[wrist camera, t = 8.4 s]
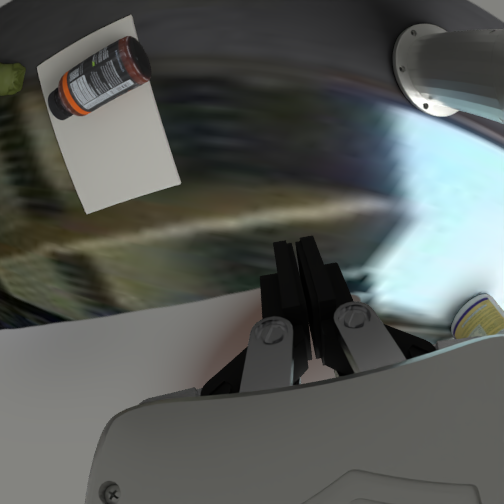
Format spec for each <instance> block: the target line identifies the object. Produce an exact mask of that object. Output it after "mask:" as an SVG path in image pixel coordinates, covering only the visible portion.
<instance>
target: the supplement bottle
mask: <svg viewBox="0 0 504 504" xmlns="http://www.w3.org/2000/svg"><path fill="white" fill-rule="evenodd" d="M150 77H151V66H150V63H149V60H148V57H147V55H146V53H145V51H144V49H143V47H142V46H141V44H140V43H139V42H138V40H137V39H136V38H134V37H132V36H126V37H124V38H122V39H119V40H117V41H116V42H114V43H112V44H110V45H108V46H107V47H105V48H103V49H101V50H100V51H98V52H97V53H95V54H93V55H92V56H90V57H88V58H87V59H85V60H84V61H82V62H81V63H79V64H78V65H76V66H75V67H73V68H72V69H70V70H69V71H67V72H66V73H65V74H64V75H63V76H62V77H61V79H60V81H59V85H58V87H57V88H56V89H55V90H54V91H52V92H51V93H50V94H49V96H48V106H49V109H50V111H51V113H52V114H53V116H54V117H56V118H57V119H59V120H65V119H67V118H69V117H71V116H72V115H75V116H85V115H87V114H89V113H91V112H92V111H94V110H96V109H98V108H99V107H101V106H103V105H104V104H106V103H108V102H110V101H112V100H114V99H115V98H117V97H119V96H121V95H123V94H125V93H127V92H129V91H130V90H132V89H135V88H137V87H138V86H141V85H142V84H144V83H146V82H148V81H149V80H150Z"/></svg>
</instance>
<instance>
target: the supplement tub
mask: <svg viewBox="0 0 504 504" xmlns="http://www.w3.org/2000/svg"><path fill="white" fill-rule="evenodd" d="M451 333H452V335H453V337H454V338H455V339H461V338H468V337H475V336H488V335H495V334H504V311H503V310H502V309H501V307H500V306H499V305H498V304H497V302H496V301H495V300H494V299H493V297H491V296H490V295H488V294H481V295H478V296H476V297H474V298H472V299H471V300H470V301H468V302H467V303H466V304H465V305H464V306H463V307H462V308H461V309H460V310H459V312H458V313H457V314H456V316H455V318H454V320H453V322H452V326H451Z"/></svg>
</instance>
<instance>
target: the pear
mask: <svg viewBox="0 0 504 504" xmlns="http://www.w3.org/2000/svg"><path fill="white" fill-rule="evenodd" d="M25 70H26V68H25V67H24V66H22V65H21V64H20V63H14V64H2V63H0V96H4V95H13V94H15V93H16V92H18V91H20V90H21V89H22V84H23V79H24V75H25Z"/></svg>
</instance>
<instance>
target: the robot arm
mask: <svg viewBox="0 0 504 504" xmlns="http://www.w3.org/2000/svg"><path fill="white" fill-rule="evenodd" d="M399 68H400V69H399ZM393 69H394V74H395V77H396V80H397V83H398V85H399V87H400V89H401V91H402V92H403V94H404V95H405V97H406V98H407V99H408V100H409V101H410V103H411V104H412V105H414V106H415V107H416V108H417V109H419V110H420V111H422V112H424V113H426V114H429V115H433V116H438V117H446V116H450V115H453V114H454V113H456V112H458V111H459V110H460V111H464V112H468V113H471V114H475V115H478V116H481V117H485V118H488V119H491V120H494V121H497V122H500V123H503V124H504V29H487V30H467V31H454V32H447V31H445V30H444V29H442V28H440V27H438V26H436V25H432V24H417V25H413V26H411V27H408V28H407V29H405V30H404V31H403V32H402V33H401V34H400V35H399V37H398V38H397V41H396V43H395V45H394V50H393ZM295 243H296V251H297V258H298V265H299V271H298V267H297V263H296V259H295V255H294V251H293V247H292V243H288V244H287V243H286V240H285V241H279V242H274V243H273V246H274V252H275V259H276V266H277V273H275V274H270V275H264V276H260V286H261V301H262V317H263V319H262V320H260V321H259V322H257V323H256V324H255V325H254V326H253V328H252V330H251V333H250V338H249V343H248V347H247V348H245V349H244V350H243V351H242V352H241V353H240V354H239V355H237V356H236V357H235V358H234V359H233V360H232V361H231V362H230V363H228V364H227V365H226V366H225V367H224V368H223V369H222V370H220V371H219V372H218V373H217V374H216V375H215V376H214V377H212V378H211V379H210V380H209V381H208V382H207V383H206V384H205V385H204V386H203V388H201V389H197V390H196V388H190V389H186V390H182V391H178V392H174V393H170V394H165V395H162V396H157V397H152V398H148V399H146V400H143V401H142V402H141V403H140V404H139V405H136V406H133V407H131V408H128V409H125V410H123V411H122V412H120V413H118V414H116V415H115V416H114V417H112V418H111V419H110V420H109V422H108V423H107V424H106V426H105V428H104V430H103V432H102V434H101V436H100V439H99V442H98V444H97V448H96V451H95V454H94V458H93V462H92V466H91V470H90V475H89V480H88V486H87V492H86V499H85V504H504V334H495V335H488V336H475V337H468V338H461V339H452V340H443V341H437V343H436V344H433V345H432V344H431V343H430V342H428V341H426V340H424V339H421V338H419V337H416V336H414V335H411V334H408V333H406V332H403V331H401V330H398V329H395V328H393V327H390V326H388V325H385V324H383V323H382V322H381V320H380V319H379V317H378V316H377V314H376V313H375V311H374V310H373V309H372V308H371V307H370V306H369V305H367V304H365V303H362V302H354V301H353V299H352V297H351V294H350V292H349V289H348V287H347V284H346V282H345V280H344V277H343V275H342V273H341V270H340V268H339V266H338V264H337V263H330V264H325V265H324V264H323V261H322V258H321V256H320V253H319V250H318V248H317V245H316V242H315V240H314V237H313V236H307V237H302V238H300V241H299V242H295ZM299 272H300V275H299ZM308 322H309V323H308ZM309 327H310V332H311V336H312V341H313V346H314V351H315V355H316V359H318V358H321V359H322V363H323V365H326V366H328V367H331V368H332V369H334V373H335V377H336V378H332V379H327V380H322V381H317V382H311V383H306V384H301V379H300V377H301V376H302V375H303V374H304V372H305V371H306V370H307V369H308V360H312V354H311V344H310V333H309Z"/></svg>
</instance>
